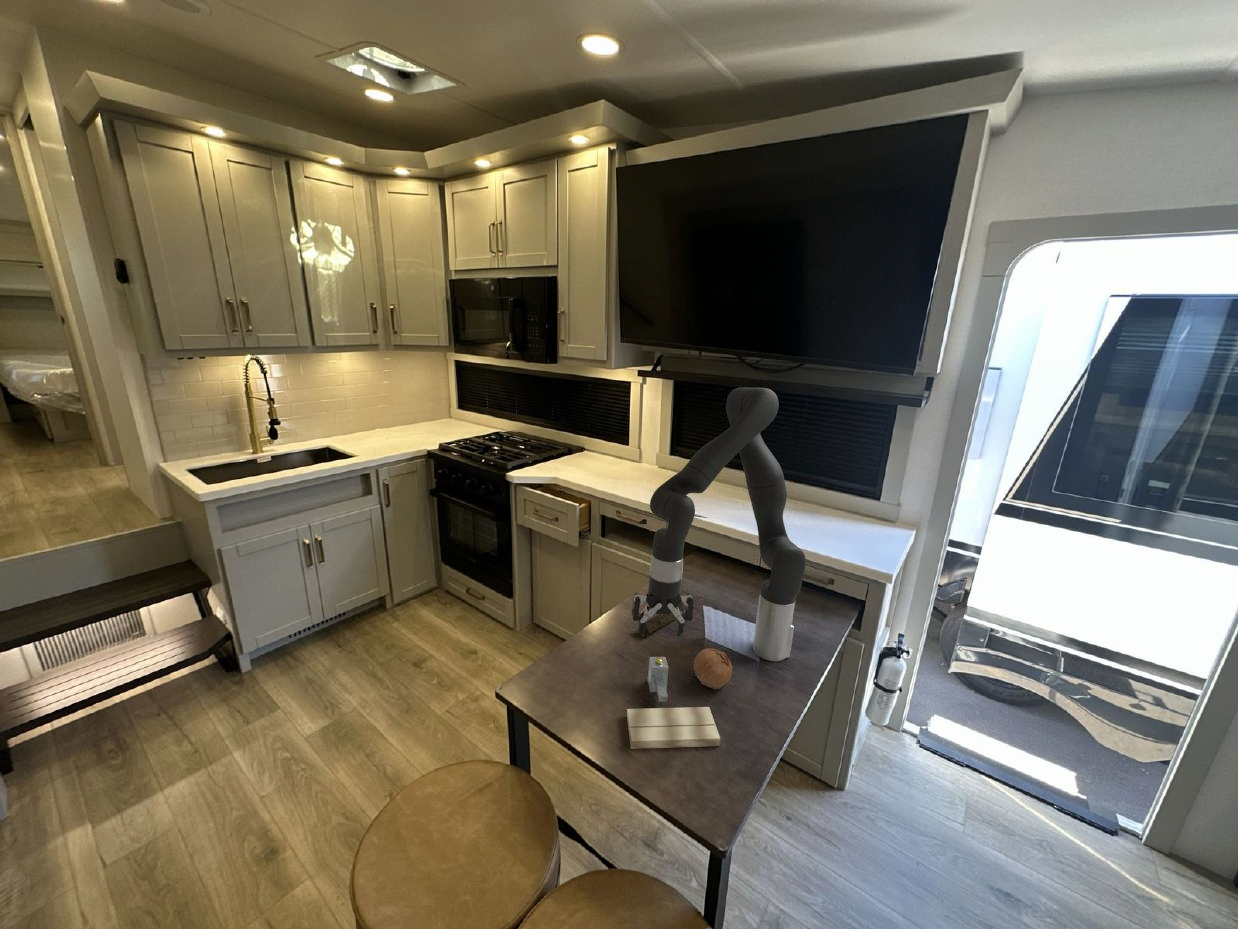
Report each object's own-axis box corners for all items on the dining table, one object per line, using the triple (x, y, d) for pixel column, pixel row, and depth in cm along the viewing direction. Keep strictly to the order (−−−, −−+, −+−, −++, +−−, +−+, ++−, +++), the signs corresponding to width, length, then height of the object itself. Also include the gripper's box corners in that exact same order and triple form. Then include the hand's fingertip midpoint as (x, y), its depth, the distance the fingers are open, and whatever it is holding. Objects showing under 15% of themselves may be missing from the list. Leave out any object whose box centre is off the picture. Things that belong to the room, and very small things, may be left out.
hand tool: (646, 640, 140) (647, 626, 138) (636, 633, 142) (637, 619, 141) (689, 617, 152) (691, 604, 151) (680, 612, 155) (681, 599, 153)
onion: (724, 692, 125) (746, 664, 122) (706, 702, 117) (729, 672, 115) (698, 662, 130) (719, 635, 127) (679, 670, 123) (701, 641, 120)
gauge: (663, 680, 123) (665, 654, 121) (670, 710, 114) (673, 682, 112) (647, 681, 123) (649, 654, 121) (653, 710, 113) (656, 682, 111)
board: (708, 714, 113) (709, 706, 113) (719, 746, 104) (720, 738, 104) (626, 716, 111) (627, 708, 111) (631, 749, 103) (631, 741, 102)
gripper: (692, 566, 118) (685, 625, 122) (633, 565, 116) (629, 625, 120) (699, 581, 110) (692, 644, 115) (637, 580, 109) (632, 644, 113)
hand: (660, 634), depth 117 cm, fingers open, 8 cm apart
